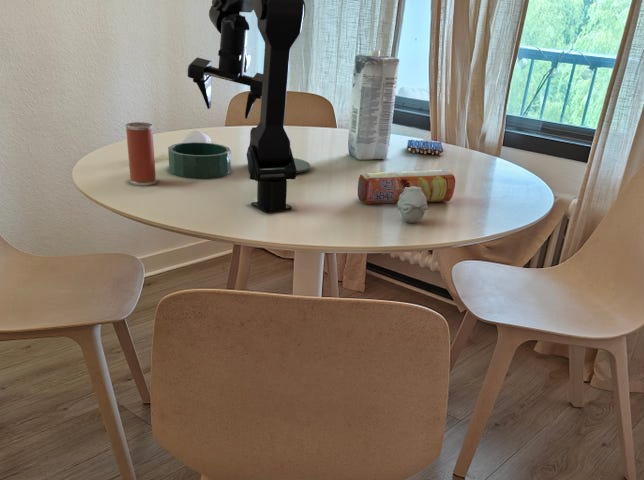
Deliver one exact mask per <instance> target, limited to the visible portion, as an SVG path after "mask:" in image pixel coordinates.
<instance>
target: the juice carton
mask: <svg viewBox="0 0 644 480" xmlns="http://www.w3.org/2000/svg"><path fill="white" fill-rule="evenodd" d="M380 52H381V50H368V55H364V54H356V55H355V58H354V68H353V69H354V70H353V79H352V89H351V101H350V114H349V123H348V124H349V126H348V140H347V145H348V154H349V155H350V156H352V157H354V158H355V159H357V160H360V161H366V160H367V161H368V160H386V159H387V157H388V154H389V149H390V143H391V135H392V126H393V120H394V119H393V118H394V110H395V103H396V102H395V101H396V93H397V84H398V83H397V82H398V76H399V65H400V64H399V63H400V59H399V58H397V57H393V56H389V55H380V54H381V53H380Z"/></svg>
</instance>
